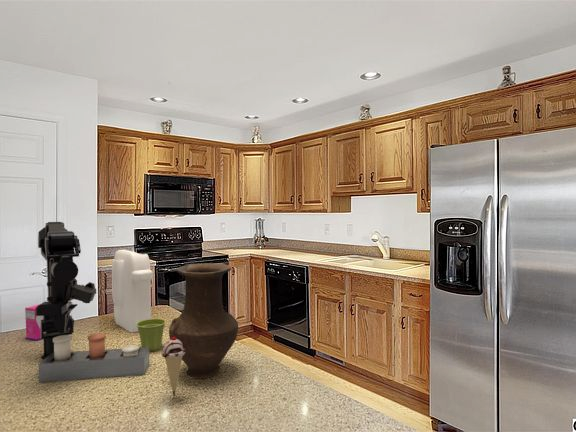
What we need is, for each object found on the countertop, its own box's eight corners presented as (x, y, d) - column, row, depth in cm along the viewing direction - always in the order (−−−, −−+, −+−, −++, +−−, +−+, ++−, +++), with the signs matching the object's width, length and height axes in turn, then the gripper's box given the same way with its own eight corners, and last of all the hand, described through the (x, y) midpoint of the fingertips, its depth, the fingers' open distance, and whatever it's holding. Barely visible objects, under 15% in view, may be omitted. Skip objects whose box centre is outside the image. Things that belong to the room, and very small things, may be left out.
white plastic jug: (102, 321, 159) (101, 249, 159) (129, 316, 167) (129, 247, 166) (126, 338, 139) (126, 254, 139) (156, 331, 147) (156, 252, 146)
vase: (164, 389, 99) (163, 273, 99) (174, 360, 118) (173, 262, 118) (239, 384, 102) (239, 271, 102) (237, 356, 121) (237, 261, 121)
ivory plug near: (50, 363, 106) (49, 340, 105) (57, 357, 110) (56, 335, 110) (68, 362, 106) (68, 339, 106) (74, 356, 111) (74, 334, 111)
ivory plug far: (120, 373, 109) (120, 351, 109) (124, 366, 113) (123, 345, 113) (137, 372, 110) (137, 349, 110) (140, 365, 114) (140, 344, 114)
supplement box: (41, 334, 144) (41, 303, 144) (51, 336, 141) (51, 305, 141) (25, 339, 139) (24, 307, 138) (35, 341, 136) (35, 308, 136)
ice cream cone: (172, 405, 91) (172, 342, 91) (156, 398, 94) (156, 337, 94) (190, 395, 96) (190, 335, 96) (174, 389, 99) (174, 331, 99)
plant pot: (147, 355, 122) (146, 328, 122) (130, 349, 128) (130, 323, 128) (172, 347, 130) (171, 321, 130) (155, 341, 135) (155, 317, 135)
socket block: (38, 382, 104) (38, 364, 103) (51, 370, 111) (51, 353, 111) (144, 374, 108) (144, 356, 108) (149, 363, 116) (149, 346, 116)
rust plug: (85, 361, 107) (85, 338, 107) (91, 355, 112) (90, 333, 112) (103, 360, 108) (103, 337, 108) (108, 354, 113) (107, 332, 112)
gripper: (81, 282, 100) (82, 342, 100) (102, 270, 118) (102, 321, 119) (34, 283, 98) (34, 344, 98) (62, 271, 116) (63, 323, 117)
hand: (62, 332), depth 108 cm, fingers closed
